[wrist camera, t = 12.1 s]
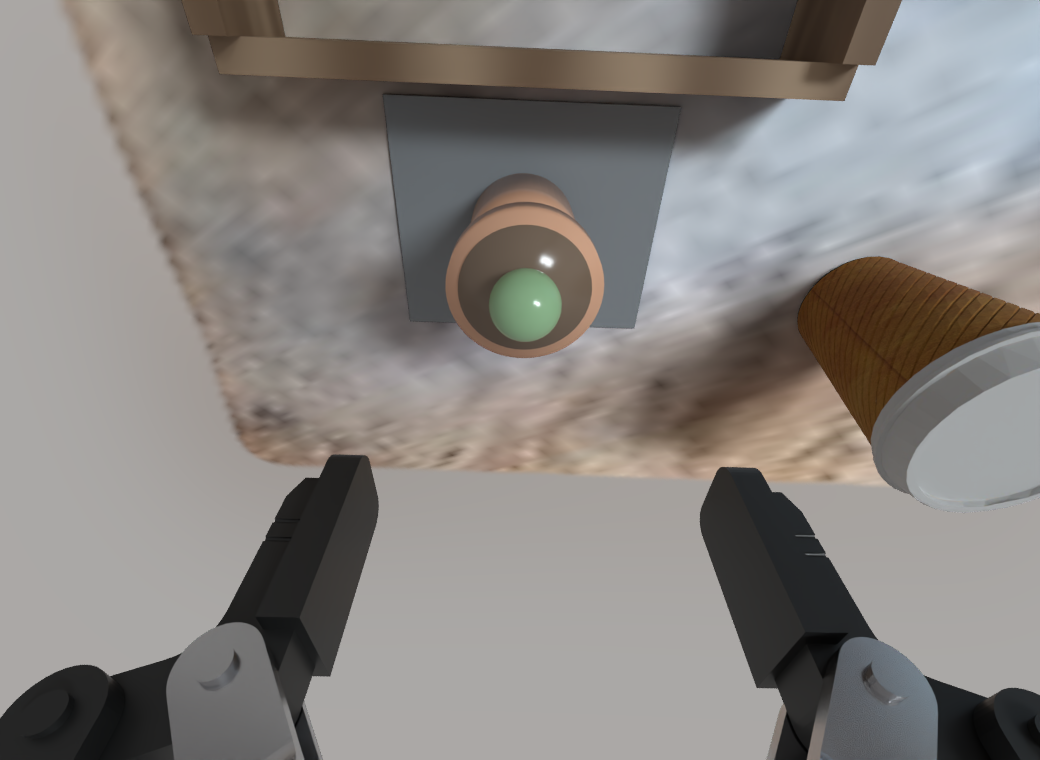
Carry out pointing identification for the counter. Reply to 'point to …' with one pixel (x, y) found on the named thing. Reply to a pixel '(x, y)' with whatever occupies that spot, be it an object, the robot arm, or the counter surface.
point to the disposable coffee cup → (933, 381)
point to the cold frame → (558, 56)
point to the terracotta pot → (524, 270)
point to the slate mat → (534, 150)
